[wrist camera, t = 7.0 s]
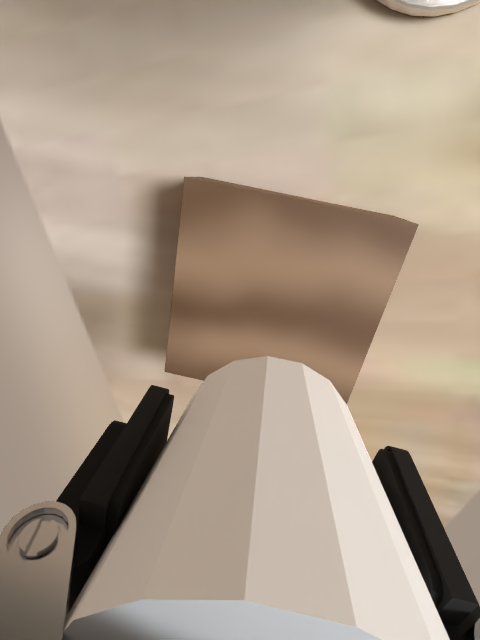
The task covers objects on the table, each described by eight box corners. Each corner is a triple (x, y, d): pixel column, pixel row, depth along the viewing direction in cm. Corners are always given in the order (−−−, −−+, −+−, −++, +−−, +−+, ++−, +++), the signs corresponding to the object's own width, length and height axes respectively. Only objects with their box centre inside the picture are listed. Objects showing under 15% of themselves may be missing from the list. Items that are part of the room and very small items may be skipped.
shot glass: (182, 487, 13) (89, 773, 7) (161, 335, 11) (-25, 579, 4) (357, 502, 12) (435, 842, 6) (383, 341, 10) (576, 656, 3)
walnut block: (202, 177, 24) (184, 177, 19) (391, 215, 23) (418, 224, 19) (182, 342, 30) (164, 371, 25) (333, 375, 29) (343, 411, 25)
